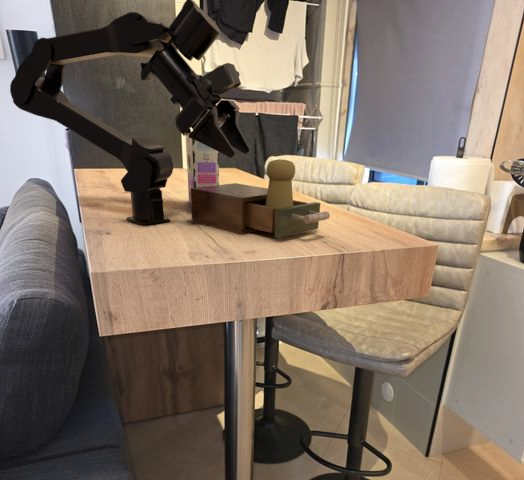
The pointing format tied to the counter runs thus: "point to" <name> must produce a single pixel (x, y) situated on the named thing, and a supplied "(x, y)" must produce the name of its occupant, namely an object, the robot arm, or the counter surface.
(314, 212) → the drawer
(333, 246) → the counter surface
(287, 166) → the cork
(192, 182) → the candy box
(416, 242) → the counter surface
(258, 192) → the cabinet
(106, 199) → the counter surface
